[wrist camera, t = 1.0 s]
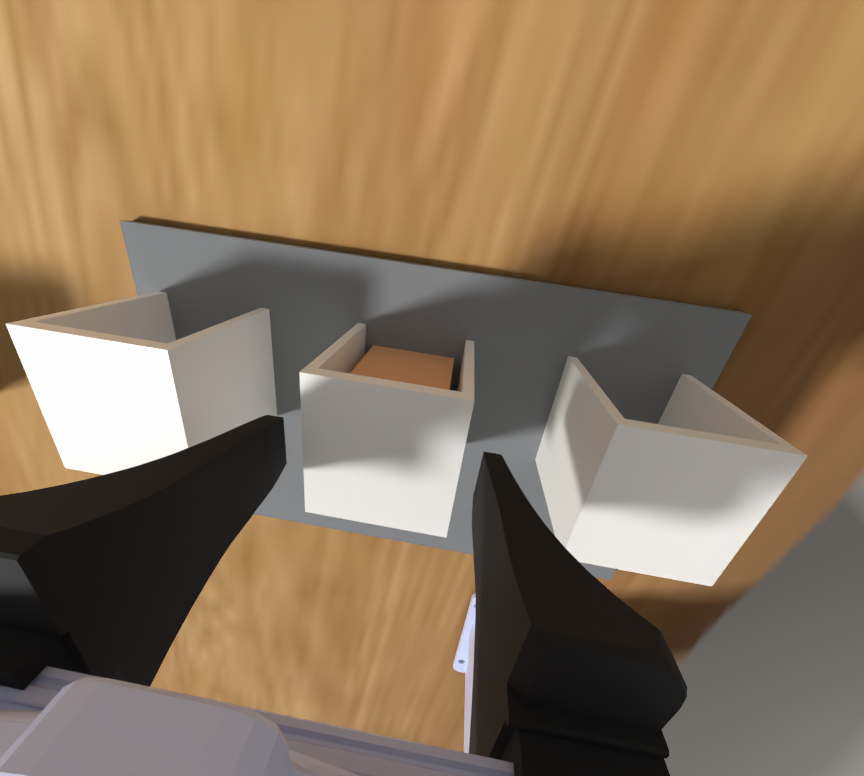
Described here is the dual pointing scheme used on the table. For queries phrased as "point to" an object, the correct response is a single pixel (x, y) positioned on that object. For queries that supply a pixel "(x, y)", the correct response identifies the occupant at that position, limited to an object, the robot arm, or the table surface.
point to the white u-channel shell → (382, 441)
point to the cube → (406, 367)
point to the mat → (435, 344)
